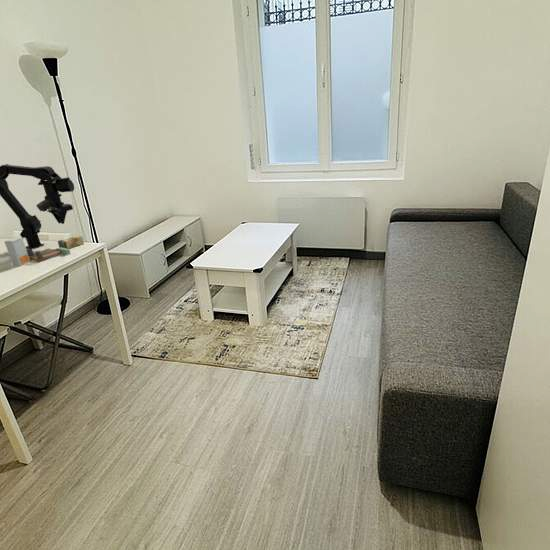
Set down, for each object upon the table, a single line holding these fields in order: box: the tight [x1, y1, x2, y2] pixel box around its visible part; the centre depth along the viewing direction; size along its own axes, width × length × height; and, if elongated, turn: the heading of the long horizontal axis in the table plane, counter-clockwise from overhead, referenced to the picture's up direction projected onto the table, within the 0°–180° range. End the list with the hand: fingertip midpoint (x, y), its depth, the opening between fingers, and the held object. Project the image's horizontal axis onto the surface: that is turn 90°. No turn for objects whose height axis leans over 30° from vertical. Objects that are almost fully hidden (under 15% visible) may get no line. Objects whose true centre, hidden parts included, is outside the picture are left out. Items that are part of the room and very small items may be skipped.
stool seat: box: [26, 247, 63, 263], centre depth 185 cm, size 11×13×4 cm
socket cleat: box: [57, 247, 71, 256], centre depth 187 cm, size 7×2×2 cm, turn 59°
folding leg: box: [57, 235, 85, 250], centre depth 195 cm, size 12×4×5 cm, turn 149°
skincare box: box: [4, 236, 31, 267], centre depth 176 cm, size 6×4×12 cm
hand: (61, 223), depth 197 cm, fingers open, 2 cm apart
